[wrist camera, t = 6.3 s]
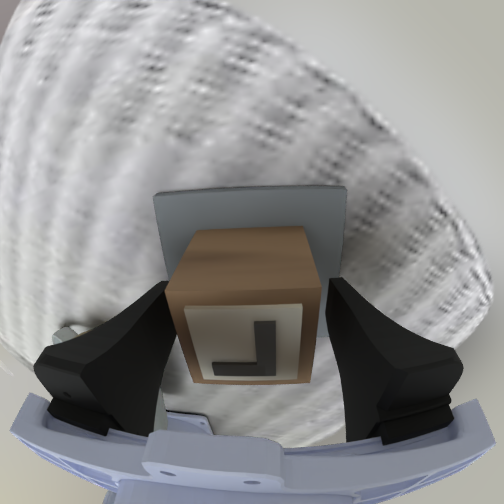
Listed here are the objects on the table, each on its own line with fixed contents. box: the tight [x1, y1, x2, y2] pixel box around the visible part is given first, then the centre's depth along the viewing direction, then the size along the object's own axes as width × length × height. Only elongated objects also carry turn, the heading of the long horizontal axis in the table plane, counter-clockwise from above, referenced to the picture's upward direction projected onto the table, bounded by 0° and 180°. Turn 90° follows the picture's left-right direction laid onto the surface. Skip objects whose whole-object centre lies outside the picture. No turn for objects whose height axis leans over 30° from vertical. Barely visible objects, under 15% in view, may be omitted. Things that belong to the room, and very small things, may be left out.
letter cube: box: [165, 226, 322, 385], centre depth 12 cm, size 5×5×5 cm
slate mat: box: [153, 186, 347, 338], centre depth 14 cm, size 9×9×1 cm
